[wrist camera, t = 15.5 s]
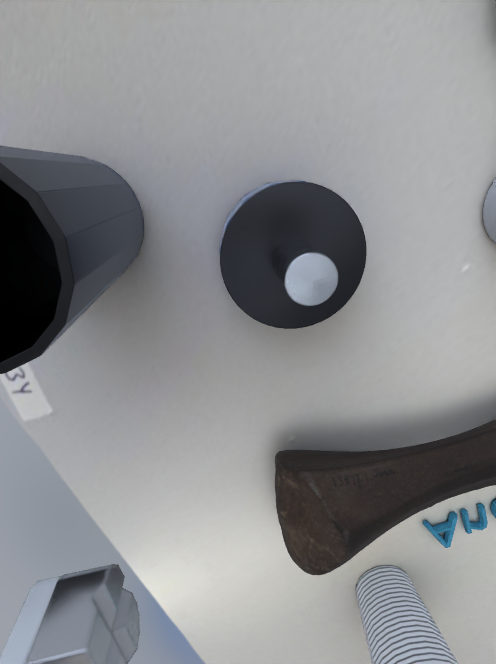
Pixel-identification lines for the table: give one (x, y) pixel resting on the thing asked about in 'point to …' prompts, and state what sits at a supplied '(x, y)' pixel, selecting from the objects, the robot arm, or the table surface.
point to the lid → (293, 254)
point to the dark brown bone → (371, 492)
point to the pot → (58, 245)
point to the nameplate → (450, 525)
